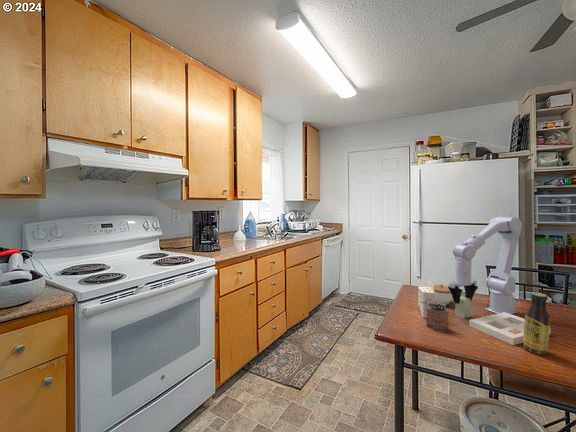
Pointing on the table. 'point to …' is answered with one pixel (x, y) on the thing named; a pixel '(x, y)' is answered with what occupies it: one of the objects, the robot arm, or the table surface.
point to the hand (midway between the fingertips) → (462, 301)
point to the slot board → (501, 327)
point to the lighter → (437, 316)
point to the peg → (463, 308)
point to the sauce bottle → (537, 325)
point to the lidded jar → (442, 294)
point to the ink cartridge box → (425, 298)
